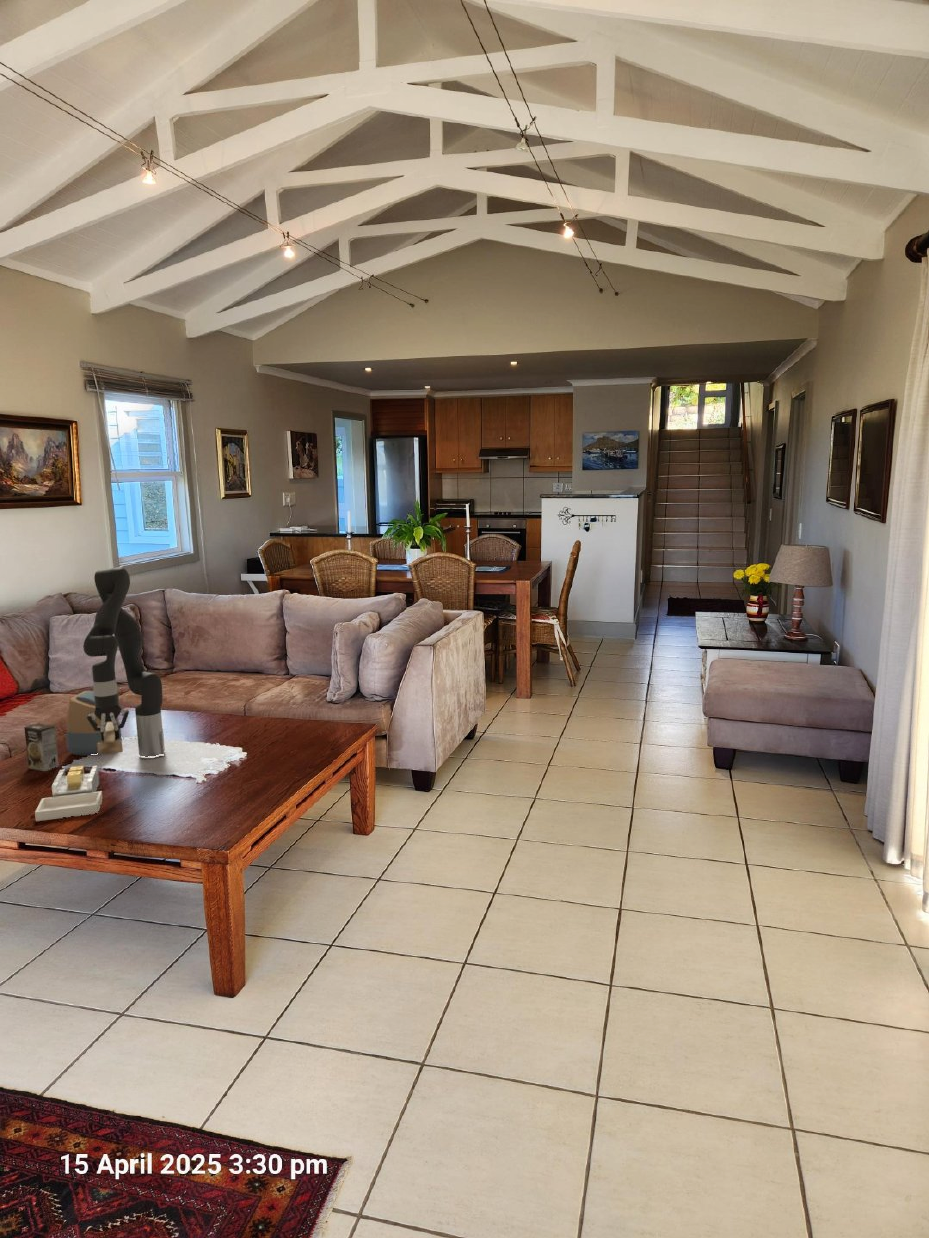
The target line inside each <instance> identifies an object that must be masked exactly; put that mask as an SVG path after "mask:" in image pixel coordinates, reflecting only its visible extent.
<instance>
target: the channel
mask: <svg viewBox="0 0 929 1238" xmlns="http://www.w3.org/2000/svg"><path fill="white" fill-rule="evenodd" d="M84 775H85V777H84V779H83V782H82V784H81V786H74V787H68V784H67V775H66V769H65V768H64V769H59V771H58V774H57V775H56V777H55V779H54V781H53V783H52V785H51V791H52V797H57V796H66V795H74V794H82V793H91V792H98V791H97V790H98V788H99V785H100V776H99V775H100V774H99V767H98V765H93V766H92V767H91V769H90V772H89V773H84ZM97 787H98V788H97Z"/></svg>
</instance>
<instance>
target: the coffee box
mask: <svg viewBox="0 0 929 1238" xmlns="http://www.w3.org/2000/svg"><path fill="white" fill-rule="evenodd" d="M23 729H24V736H25V737H24V739H25V744H26V753H27V764H28V769H32V770H35V771H36V770H37V771H39V772H40V771H41V772H48V771H50V770H53V769H56V768H58V767H60V766H59V765H60V764H59V755H58V754H59V753H58V746H57V745H58V744H57V743H58V742H57V733H56V725H52V724H47V723H42V722H38V723H35V724H29V725H26V726H25V727H23ZM55 767H56V768H55ZM52 768H53V769H52Z"/></svg>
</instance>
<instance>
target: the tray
mask: <svg viewBox="0 0 929 1238" xmlns="http://www.w3.org/2000/svg"><path fill="white" fill-rule="evenodd" d="M102 799H103V791H102V790H100V791H99V790H98V791H96V792H91V793H82V794H74V795H66V796H57V797H53V796H49V797H44V798H43V797H42V798H41V799H40V802H39V804H38V806H37V808H36V809H35V811H34V817H35V818H34V819H35V822H40V821H49V820H57V819H64V818H63V817H66V818H70V817H71V816H74V817H80V816H81V815H82V816H87V815H89V814H90V815H94V814H95V813H97V814H99V812H100V809H101V806H102V803H103V800H104V799H103V800H102ZM100 805H101V806H100ZM98 811H99V812H98ZM71 818H72V817H71Z"/></svg>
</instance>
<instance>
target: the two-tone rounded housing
mask: <svg viewBox="0 0 929 1238" xmlns="http://www.w3.org/2000/svg"><path fill="white" fill-rule="evenodd" d="M93 691H94V690H84V691H82V692H80V693H78V694H76V695H75V696H72V697H70V700H69V702H68V709H67V718H66V719H67V720H66V732H65V735H66V736H65V737H66V748H67V750H68V752H70V753H71V754H72V755H75V756H92V755H91V754H97V753H98V746H97V743H98V742H102V738H101V732H100V731H95V730H94V728H93V727H92V725H91V724H90V722H89V721H88V719H87V716H88V715H89V714H92V713H94V712H95V700H94V693H93ZM94 720H95V721H96V723H97V724H98V726H100V727H101V720H100V719H99V718H98V717H97V716H96V715H95V719H94ZM108 722H112V721H108ZM108 722H105V728H106V725H107V723H108ZM117 722H118V725H119V724H121V721H120V722H119V716H118V717H117ZM121 729H122V728H121ZM121 729H119V734H120V737H119V739H122V731H121ZM119 739H118V740H119Z"/></svg>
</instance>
